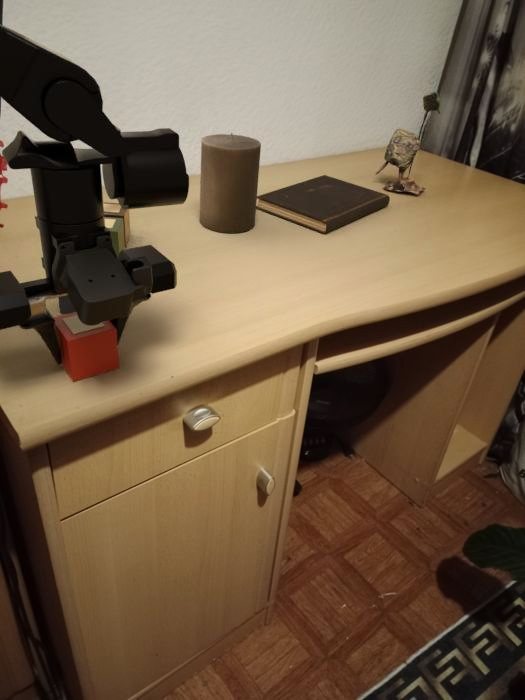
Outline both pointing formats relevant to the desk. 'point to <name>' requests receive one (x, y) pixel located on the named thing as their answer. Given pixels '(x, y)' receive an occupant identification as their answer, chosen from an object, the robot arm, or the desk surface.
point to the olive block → (116, 233)
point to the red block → (86, 346)
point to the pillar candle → (229, 182)
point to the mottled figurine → (407, 150)
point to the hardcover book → (322, 203)
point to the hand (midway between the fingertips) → (86, 354)
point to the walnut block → (118, 216)
